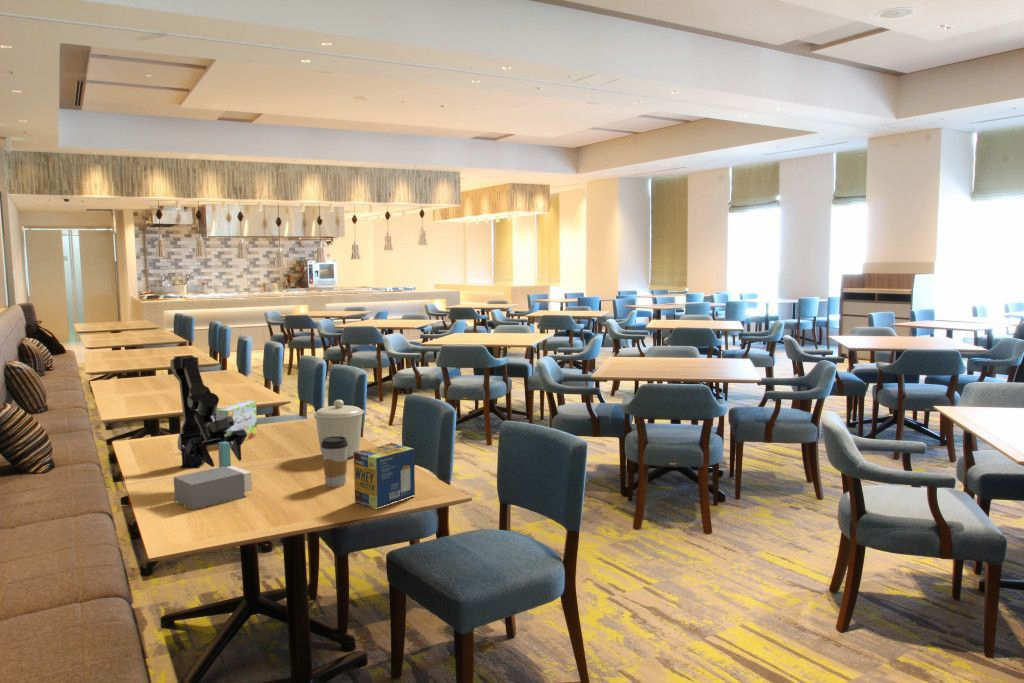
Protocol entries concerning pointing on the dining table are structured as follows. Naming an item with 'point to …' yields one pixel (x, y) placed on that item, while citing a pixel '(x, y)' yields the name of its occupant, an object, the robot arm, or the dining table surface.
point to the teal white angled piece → (226, 461)
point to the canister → (340, 424)
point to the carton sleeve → (209, 487)
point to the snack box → (240, 417)
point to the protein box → (384, 474)
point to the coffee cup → (335, 460)
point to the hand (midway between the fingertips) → (227, 463)
